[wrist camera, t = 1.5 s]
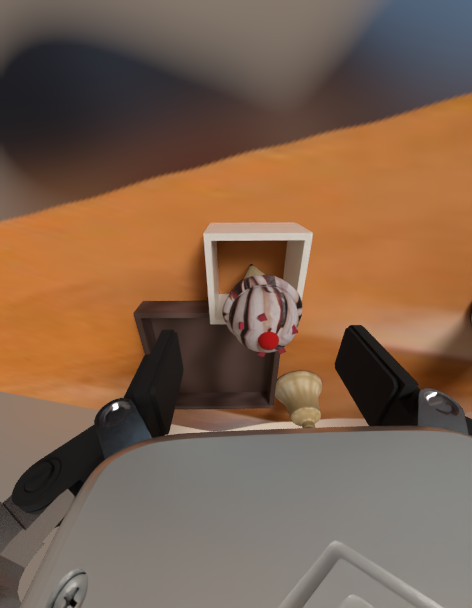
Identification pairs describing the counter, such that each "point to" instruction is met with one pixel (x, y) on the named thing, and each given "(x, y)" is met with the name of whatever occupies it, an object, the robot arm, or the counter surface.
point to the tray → (210, 358)
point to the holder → (289, 231)
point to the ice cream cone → (263, 312)
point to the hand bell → (300, 397)
